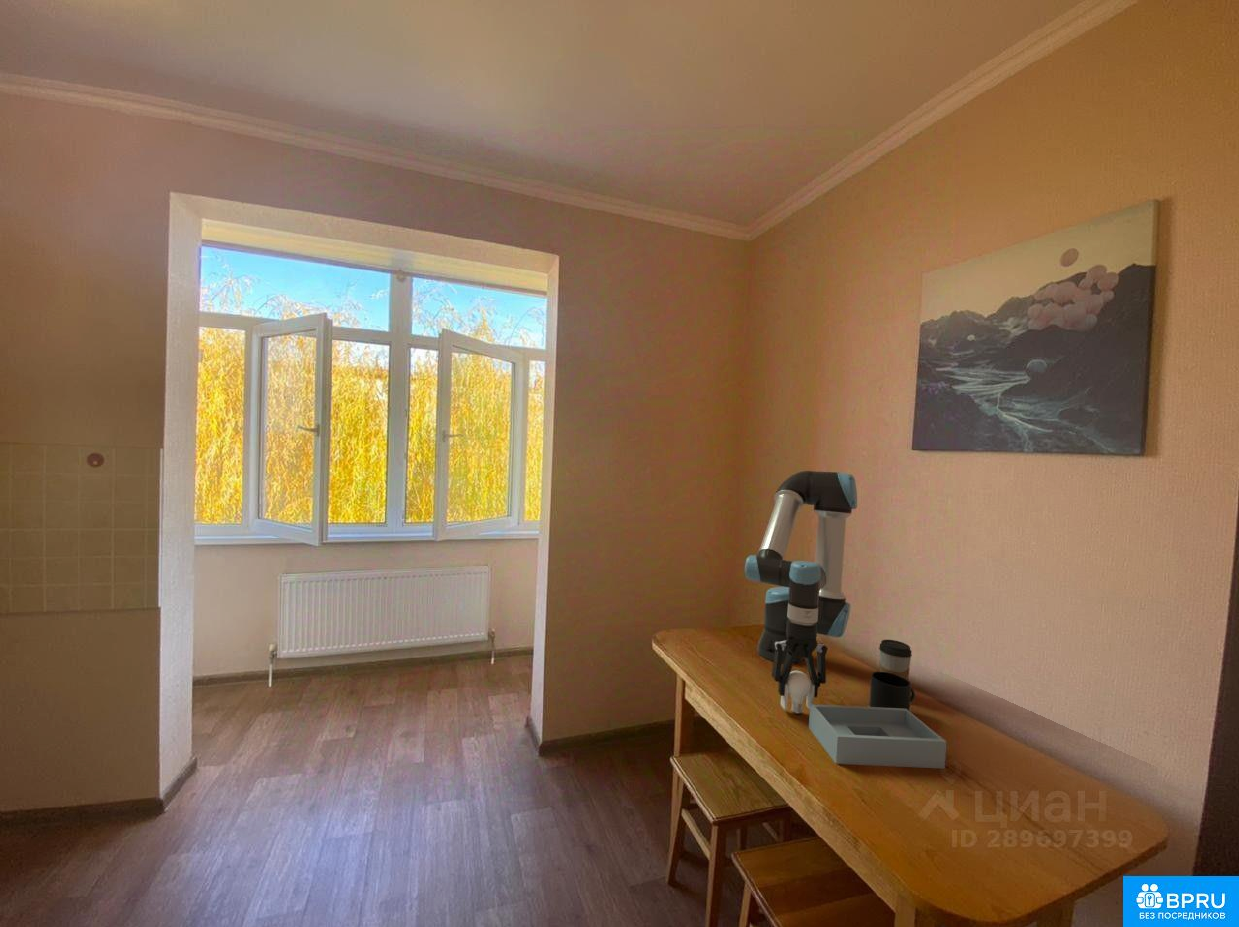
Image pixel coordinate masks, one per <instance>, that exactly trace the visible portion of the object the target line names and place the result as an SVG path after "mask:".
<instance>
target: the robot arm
mask: <svg viewBox="0 0 1239 927" xmlns="http://www.w3.org/2000/svg"><path fill="white" fill-rule="evenodd" d="M773 501H774V507H773V509H772V512H771V515H770V519H769V520H768V523H767V527H766V529H765V533H764V535H763V537H762V538H763V539H762V541H761V544H760V546H759V549H758V552H757V555H755V554H754V555H752V554H751V555H749V556H747V557H746V560H745V565H744V574H745V577H746V579H747V580H750V581H753V582H757V583H759V584H761V583H763V584H769V585H775V586H776V587H772V588H769V589H767V591H766V594H765V601H764V618H763V631H762V633H761V635H760V638H759V639H758V642H757V649H756V650H757V654H758V655H759V656H761V657H762V658H764V659H767V660H768V661H772V662H773V664H772V671H771V678H773V680H774V681H775V682H777V683H778V689H777V691H778V694H779V695H780V706H781V707H782V709H783V710H784V711H787V710H788V704H789V703H788V702H789V691H788V690H789V685H788V684H787V683H786V681H787V679H788V676H789V674H790V672H792V668H793V666H794V664H799V663H801V662H802V661H803V660H805V664H806V668H807V672H808V675H809V676H808V677H809V679H810V682H811V690H810V692H809V693H808V695H807V696H806V699H805V700H806V703H805V706H806V708H807V709H808V710H809V711H810V704H815V698H817V696H818V690H819V688H820V687H821V684H822V685H824V684H825V685H826V682H827V678H826V677H827V672H826V671H827V670H826V666H827V664H826V655H827V652H828V650H829V649H828V646H826V645H825V644H824V643H823V642H818V641H817V635H818V634H819V635H822V636H826V637H833V638H842V637H843V636H844V634H845V633H846V629H847V625H848V622H849V617H850V612H851V604H850V603H849V602H848V601H847V602H846V600H847V599H846V598H847V596H846V595H845V594H844V593H843V591H842V587H843V586H842V583H843V570H844V569H843V568H844V551H845V539H846V538H845V537H846V525H847V524H846V523H847V522H846V520H847V518H849V517H850V516H852V513H853V512H852V511H853V510H856V509H857V508H858V492H857V484H856V479H855V476H853V474H851V473H847V472H846V473H845V472H839V471H837V472H836V471H834V472H833V471H814V470H813V471H811V470H803V471H799V472H796V473H794V474H792V475H791V476H789V477H788V478H786V479H785V480H784V481H783V482H782V483H781V484H780V485H779V486H778V487H777V489H776V492H775V494H774V497H773ZM804 505H811V506H813V512H814V513H815V514H816V515H817V525H816V526H817V529H816V530H817V531H816V543H815V556H814V561H813V562H811V561H807V560H806V561H805V560H795V561H790V560H786V559H784V558H785V556H786V552H787V548H788V545H789V541H790V539H791V535H792V532H793V529H794V526H795V522H796V519H797V515H798V512H799V511H800V510H801V509H803V506H804ZM815 650H816V667H815V663H814V656H813V652H814V651H815ZM782 664H783V665H782Z"/></svg>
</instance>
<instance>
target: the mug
mask: <svg viewBox="0 0 1239 927" xmlns="http://www.w3.org/2000/svg"><path fill="white" fill-rule="evenodd" d="M915 696H916V694H915V690H914V689H913V688H912V683H911V682H910V680H909V679H908V680H907V679H905V678H903V677H901V676H898V675H896V674H892V673H888V672H880V671H874V672H872V673H871V676H870V692H869V707H882V708H903V709H907V710H908V711H910V712H911V710H910V707H911V703H913V701H914V699H915V698H916V697H915Z"/></svg>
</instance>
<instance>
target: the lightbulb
mask: <svg viewBox="0 0 1239 927" xmlns="http://www.w3.org/2000/svg"><path fill="white" fill-rule="evenodd" d="M786 683H787V684H788V685H789V690H788V694H789V696H790V700H791V712H793V713H794V714H797V715H799V714H802V713H803V703H804V701H805V700H806V699H805V698H807V695H808V693H809V692H810V690H811V680H810V677H809V676H808V675H807V674H806V673H805V672H803V671H800V670H791V671H790V674H789V676H788V679H787V681H786Z"/></svg>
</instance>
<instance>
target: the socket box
mask: <svg viewBox="0 0 1239 927" xmlns="http://www.w3.org/2000/svg"><path fill="white" fill-rule="evenodd" d="M808 719H809V720H808V730H810V732H811V733H812V734H813V736H814V737H815V738H816V740H817V741H818V742H819V744H820V745H821V746H822V748H824V751H826V753H827V754H828V755H829V757H830V758H831V759H832V761H833V762H834V764H836V765H838V764H839V765H851V766H852V765H853V766H857V765H858V766H873V767H874V766H876V767H899V768H901V767H902V768H921V769H922V768H923V769H944V770H945V768H946V756H947V755H946V752H947V741H946V740H945V739H944V738H942V736H940V735H939V734H938V733H936V732H935V731H934V730H933V729H932V728H931V727H929V726H928V725H927V724H926V723H924V722H923V720H921V719H920V718H918V717H917V716H916V715H914V714H913V713H912V712H911V710H910V711H908V710H907V709H903V708H882V707H870V706H861V705H860V706H857V705H856V706H855V705H838V704H837V705H836V704H835V705H834V704H815V703H814V704H810V710H809V718H808Z"/></svg>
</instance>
